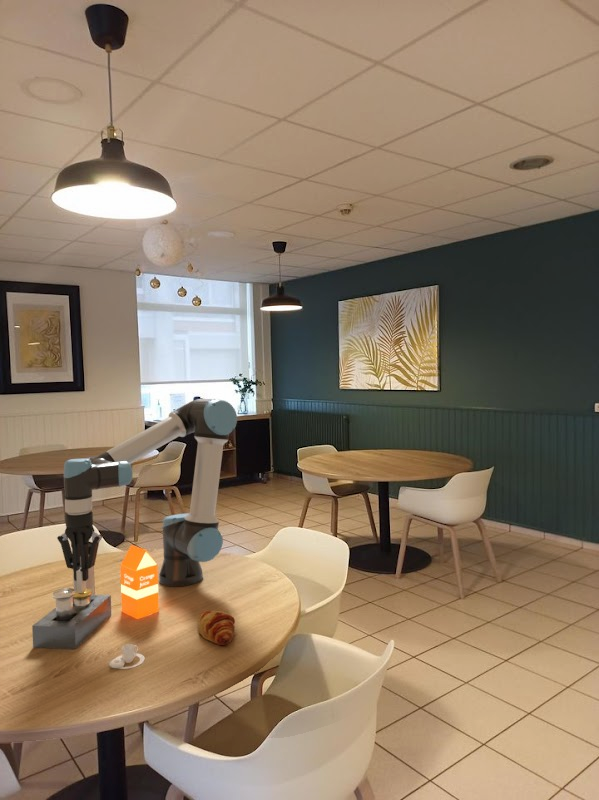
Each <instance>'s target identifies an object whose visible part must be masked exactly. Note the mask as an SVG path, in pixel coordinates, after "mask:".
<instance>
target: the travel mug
mask: <svg viewBox="0 0 599 800" xmlns="http://www.w3.org/2000/svg"><path fill="white" fill-rule="evenodd" d="M92 542H93V541H89V545H88V552H89V554H90V549H91V544H92ZM80 562H81V549H80ZM80 568H81V567H80ZM72 572H73V573H72V574H73V575H72V578H73V579H72V580H73V589H75V590H77V581H75V580H74V570H73V569H72ZM88 576H89V578H88V580H86V588H88V589H91V590H92V595H96V587H95V586H96V583H95V582H96V581H95V565H94V566H93V567H91V568H90V569H88Z"/></svg>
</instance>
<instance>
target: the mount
mask: <svg viewBox="0 0 599 800" xmlns="http://www.w3.org/2000/svg"><path fill="white" fill-rule="evenodd" d="M111 597H112V596H111V595H110V594H95V595H91V596H90V604H89V605H88V606H74V598H73V616H74V618H72V619H71V620H70V621H56V607H55V608H53V609H52V610H51V611H50V612H48V613H46V615H44V616H43V617H41V619H39V620H38V621H37V622H35V623H34V624H33V625H32V626H31V630H32V648H33V649H34V648H35V649H36V648H37V649H59V650H60V649H62V650H64V649H66V650H76V649H78V647H80V645H82V644H83V642H85V641H86V640H87V639H88V638H89V637H90V636H91V635H92V634H93V633H94V632H95V631H96V630H97V629H98V628H100V626H102V624H103V623H104V622H105V621H106V620H108V618H109V617H111V616H112V598H111Z"/></svg>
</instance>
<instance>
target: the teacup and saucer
mask: <svg viewBox="0 0 599 800" xmlns="http://www.w3.org/2000/svg"><path fill="white" fill-rule="evenodd" d="M135 648H136V649H135ZM138 652H139V646H138V645H136V644H135V645H134V644H132V643H127V644H124V645H123V646H121V655H118V656H117V657H116V658H114V659H112V660H110V661H109V662H108V664H109V667H110V668H112V669H119V670H128V669H129V670H130V669H133V668H136V667H138V666H140V665H141V664H143V663H144V662H145V659H146V657H145V656H144V655H143V654H141V653H138ZM135 657H138V658H139V661H138V662H137V663H136V664H134V665H133V664H132V665H131V666H125V664H130V663H133V661H134V658H135Z"/></svg>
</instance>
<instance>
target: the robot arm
mask: <svg viewBox="0 0 599 800" xmlns="http://www.w3.org/2000/svg"><path fill="white" fill-rule="evenodd" d="M237 423H238V415H237V412H236V409H235V408H234V407H233V405H232V404H231V403H230V402H228V401H226V400H222V399H219V398H197V399H194V400H192V401H189V402H188V403H185V404H184V405H182V406H180V407H179V408H177V409H175V410H173V411H171V412H170V413H168V416H167V417H166V418H165V419H163V420H161V421H159V422H157V423H155V424H153V425H152V426H150V427H148V428H147V429H144V430H143V431H141V432H139V433H137V434H135V435H134V436H132V437H130V438H129V439H127V440H125V441H123V442H120V444H117V445H115V446H113V447H112V448H110V449H108V450H107V451H105V452H104V451H103V453H101V454H99V455H97V456H91V457H86V458H83V457H82V458H71V459H68V460H65V462H64V464H63V476H62V477H63V487H64V512H65V513H66V514H65V515H64V516H65V530H64V533H62V534H60V535H58V536H57V537H56V539H57V541H58V542H59V543H60V546H61V549H62V553H63V557H64V560H65V564H66V565H65V566H66V568H68V569H71V570H72V571H73V570H74V580H75V581H77V593H83V592H84V591H85V590H86V580H88V578H89V576H88V569H90V568H91V567H93V566H94V567H95V565H96V559H97V554H98V550H99V545H100V542H101V540H102V539H103V535H102V534H98V533H96V531H95V528H94V526H93V525H94V513H93V511H92V510H93V491H94V490H101V489H103V490H104V489H111V488H118V487H119V488H120V487H123V486H128V485H130V484H131V482H132V480H133V468H132V465H131V464H133V463H134V462H136V461H138V460H140V459H142V458H143V457H146V456H147V455H149V454H151V453H152V452H154V451H156V450H157V449H159V448H161V447H162V446H164V445H166V444H168V443H170V442H171V441H173V440H175V439H177V438H178V437H181V438H184V437H186V436H187V435H190V434H192V433H193V434H194V435H193V437H194V439H195V440H196V441H197V448H196V456H195V464H194V465H195V466H194V474H193V481H192V491H191V499H190V507H189V513H188V512H187V513H177V514H173V515H168V516H165V517H164V518H163V520H162V526H161V527H162V540H163V541H162V543H163V561H162V564H161V568H160V571H159V574H158V575H159V577H158V582H159V583H160V584H161V585H163V586H167V587H184V586H189V585H194V584H196V583H198V582H200V581H201V580H202V579H203V578H204V576H203V574H204V573H203V569H202V566H201V563H207V562H209V561H211V560H213V559H215V558H216V557H217V556H218V555H219V553H220V552H221V550H222V547H223V544H224V539H223V535H222V533H221V532H220V530H219V526H220V525H219V523H220V520H219V518H218V517H217V516H216V508H217V501H218V494H219V484H220V477H221V476H220V475H221V467H222V459H223V450H224V445H225V444H226V443H227V442H229V437H230V433H232V432H233V430H235V428H236V426H237ZM90 540H91V542H92V544H91V549H90V554H89V552H88V545H89V542H90ZM80 549H81V562H80ZM80 567H81V568H80Z"/></svg>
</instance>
